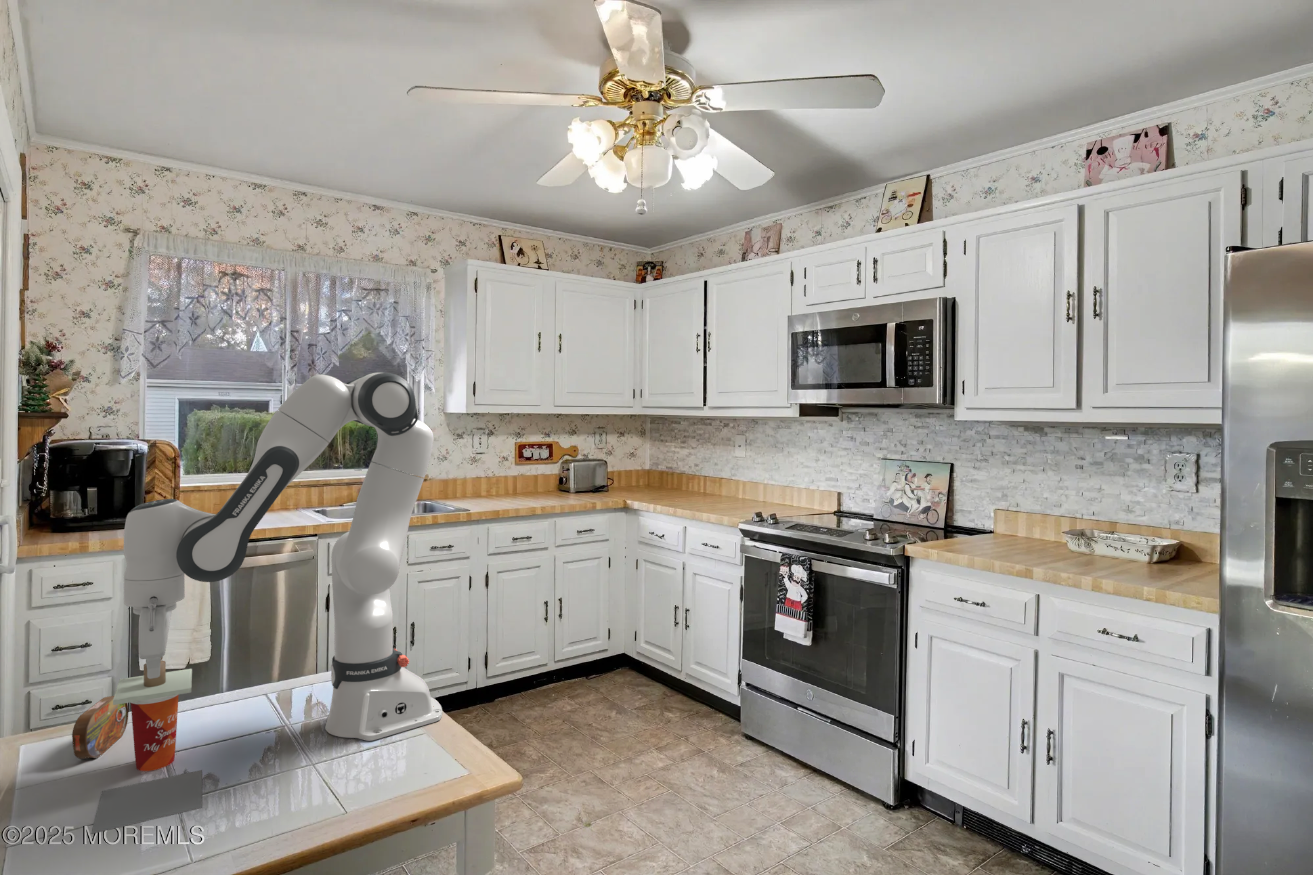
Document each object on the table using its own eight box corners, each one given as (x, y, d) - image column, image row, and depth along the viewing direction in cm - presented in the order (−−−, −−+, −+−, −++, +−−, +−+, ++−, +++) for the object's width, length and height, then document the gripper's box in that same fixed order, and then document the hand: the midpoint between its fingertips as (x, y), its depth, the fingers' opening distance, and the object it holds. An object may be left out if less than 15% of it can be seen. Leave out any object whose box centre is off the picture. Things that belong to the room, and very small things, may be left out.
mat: (202, 771, 127) (202, 769, 127) (202, 810, 115) (202, 807, 115) (102, 793, 119) (102, 790, 119) (91, 836, 107) (91, 833, 107)
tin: (88, 766, 128) (88, 719, 128) (68, 768, 127) (67, 721, 127) (130, 729, 143) (130, 687, 142) (112, 731, 142) (112, 688, 142)
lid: (191, 672, 136) (191, 649, 136) (191, 692, 127) (190, 667, 126) (119, 683, 130) (119, 659, 130) (113, 705, 121) (112, 679, 121)
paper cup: (154, 778, 124) (154, 698, 124) (117, 773, 126) (116, 694, 125) (192, 757, 132) (191, 681, 131) (156, 752, 133) (156, 677, 133)
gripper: (174, 602, 121) (174, 684, 121) (177, 577, 138) (178, 649, 138) (127, 607, 117) (128, 691, 118) (137, 581, 135) (137, 654, 135)
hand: (155, 668), depth 128 cm, fingers open, 8 cm apart
